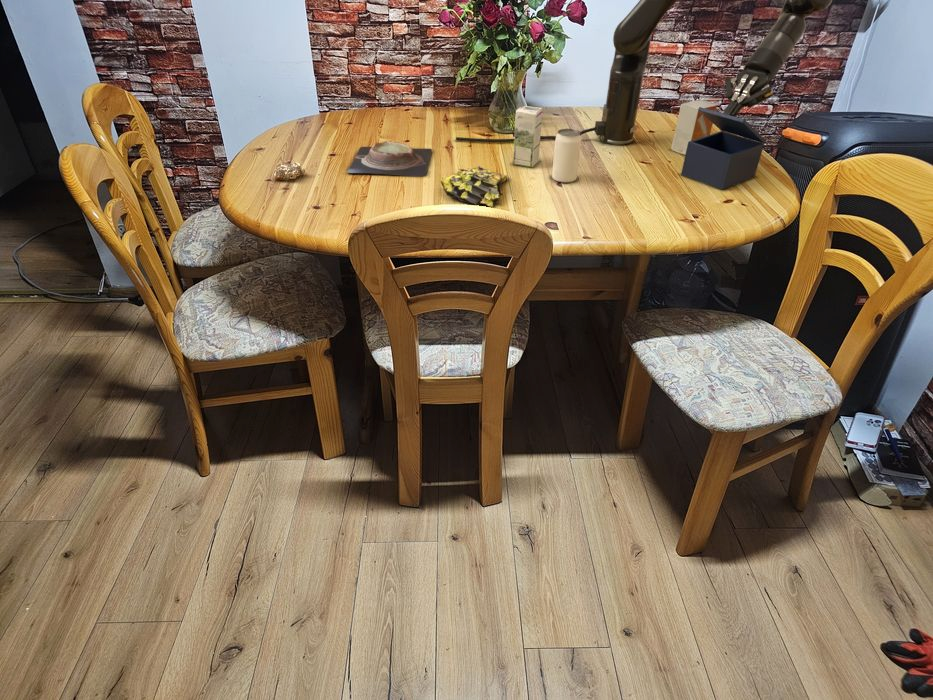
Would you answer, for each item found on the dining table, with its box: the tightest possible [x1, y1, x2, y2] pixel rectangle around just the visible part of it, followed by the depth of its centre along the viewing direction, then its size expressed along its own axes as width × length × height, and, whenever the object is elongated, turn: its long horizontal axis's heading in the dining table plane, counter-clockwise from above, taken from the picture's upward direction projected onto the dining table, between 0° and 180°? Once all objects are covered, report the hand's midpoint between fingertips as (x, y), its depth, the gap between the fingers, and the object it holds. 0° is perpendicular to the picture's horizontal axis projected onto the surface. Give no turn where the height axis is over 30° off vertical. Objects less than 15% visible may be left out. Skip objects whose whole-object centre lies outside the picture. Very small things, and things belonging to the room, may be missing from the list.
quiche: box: [346, 140, 433, 177], centre depth 169 cm, size 21×20×4 cm
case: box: [680, 130, 765, 191], centre depth 161 cm, size 15×13×9 cm
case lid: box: [698, 107, 766, 144], centre depth 156 cm, size 15×13×1 cm
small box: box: [670, 99, 718, 156], centre depth 175 cm, size 8×6×13 cm
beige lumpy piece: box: [273, 162, 306, 181], centre depth 159 cm, size 8×7×4 cm
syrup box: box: [512, 105, 543, 168], centre depth 166 cm, size 6×6×14 cm
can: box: [551, 128, 582, 184], centre depth 158 cm, size 6×6×12 cm
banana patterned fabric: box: [440, 165, 509, 208], centre depth 155 cm, size 20×16×6 cm
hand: (727, 117), depth 153 cm, fingers closed
